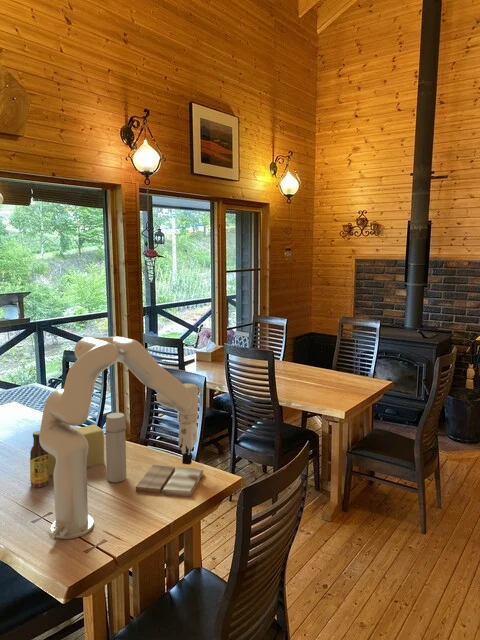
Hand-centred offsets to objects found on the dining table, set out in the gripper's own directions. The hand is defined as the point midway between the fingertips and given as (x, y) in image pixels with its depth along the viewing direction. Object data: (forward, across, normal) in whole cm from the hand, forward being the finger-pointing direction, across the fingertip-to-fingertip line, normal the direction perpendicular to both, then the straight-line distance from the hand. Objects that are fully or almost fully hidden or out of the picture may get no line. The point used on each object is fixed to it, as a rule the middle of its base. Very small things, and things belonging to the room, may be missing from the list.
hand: (187, 463), depth 182 cm
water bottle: (+6, -5, +26) cm, 27 cm away
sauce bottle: (+7, -15, +52) cm, 54 cm away
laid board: (+6, -5, +10) cm, 13 cm away
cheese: (+6, 0, +46) cm, 47 cm away
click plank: (+6, -5, 0) cm, 8 cm away
